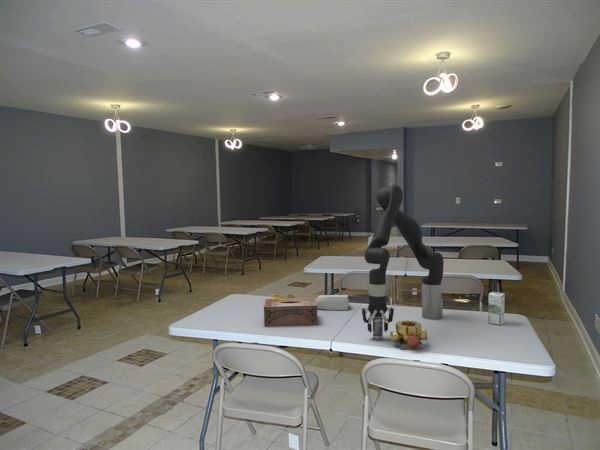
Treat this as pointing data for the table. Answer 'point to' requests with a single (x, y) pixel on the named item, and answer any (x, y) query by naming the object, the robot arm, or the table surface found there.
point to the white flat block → (333, 302)
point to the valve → (408, 335)
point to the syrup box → (496, 308)
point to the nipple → (378, 328)
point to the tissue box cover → (290, 312)
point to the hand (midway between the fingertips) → (377, 331)
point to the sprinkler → (283, 297)
